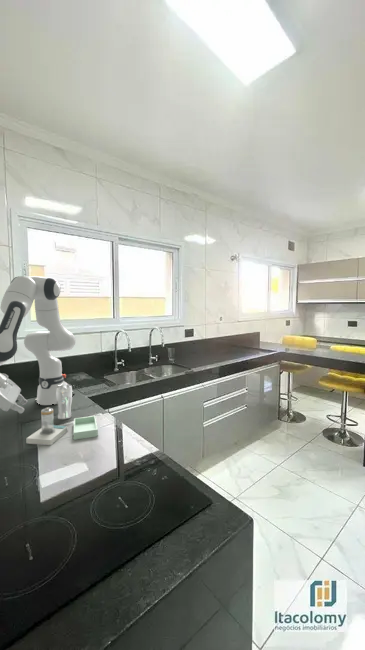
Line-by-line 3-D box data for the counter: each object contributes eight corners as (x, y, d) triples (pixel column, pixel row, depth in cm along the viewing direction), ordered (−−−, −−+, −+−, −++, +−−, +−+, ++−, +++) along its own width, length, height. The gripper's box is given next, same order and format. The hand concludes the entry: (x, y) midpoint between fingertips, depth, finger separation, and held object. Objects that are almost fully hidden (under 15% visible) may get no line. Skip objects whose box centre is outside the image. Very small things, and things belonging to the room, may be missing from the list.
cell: (45, 428, 114) (45, 405, 113) (56, 429, 114) (55, 406, 113) (39, 433, 110) (38, 409, 109) (49, 434, 109) (49, 410, 108)
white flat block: (45, 429, 118) (45, 424, 118) (67, 431, 117) (67, 425, 117) (26, 443, 106) (26, 437, 106) (50, 445, 105) (50, 439, 105)
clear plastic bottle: (66, 420, 128) (66, 388, 127) (53, 419, 129) (52, 387, 128) (75, 415, 135) (75, 384, 134) (62, 413, 136) (62, 383, 135)
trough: (74, 424, 124) (73, 418, 124) (95, 421, 127) (95, 415, 127) (73, 439, 110) (73, 432, 109) (97, 436, 113) (97, 429, 113)
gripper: (-6, 385, 94) (28, 410, 99) (6, 372, 113) (33, 393, 118) (-21, 400, 93) (13, 424, 97) (-7, 384, 112) (21, 405, 116)
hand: (24, 407), depth 108 cm, fingers open, 8 cm apart
